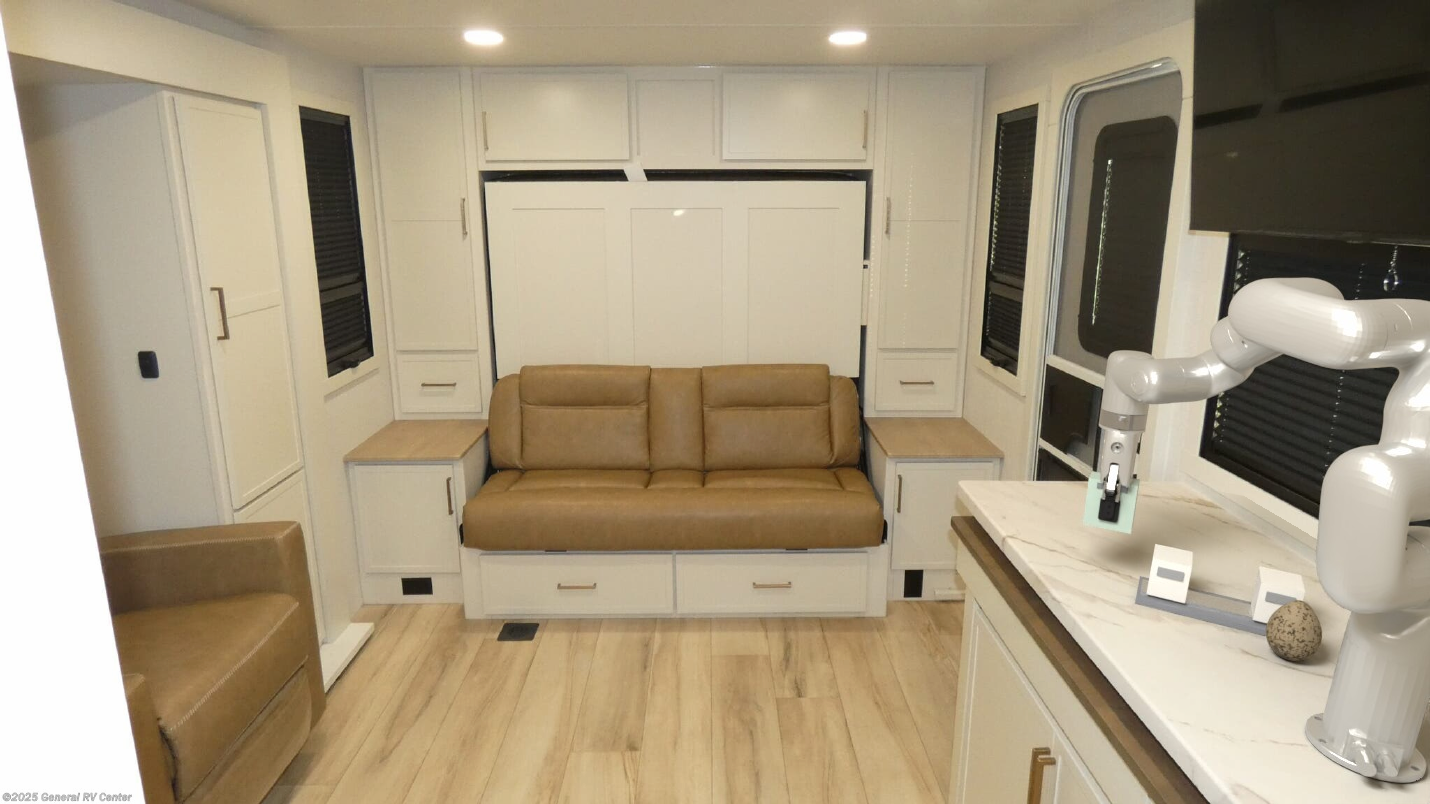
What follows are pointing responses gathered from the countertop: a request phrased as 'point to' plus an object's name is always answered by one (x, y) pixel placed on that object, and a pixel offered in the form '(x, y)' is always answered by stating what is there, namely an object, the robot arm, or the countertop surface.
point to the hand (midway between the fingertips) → (1109, 515)
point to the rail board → (1175, 596)
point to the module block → (1125, 511)
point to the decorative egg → (1294, 631)
